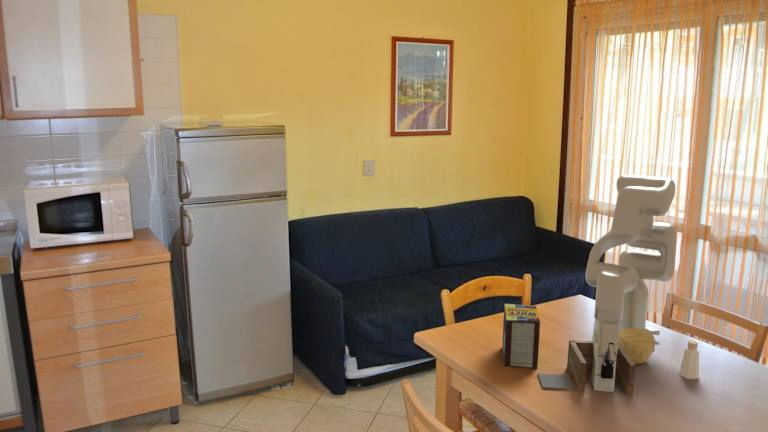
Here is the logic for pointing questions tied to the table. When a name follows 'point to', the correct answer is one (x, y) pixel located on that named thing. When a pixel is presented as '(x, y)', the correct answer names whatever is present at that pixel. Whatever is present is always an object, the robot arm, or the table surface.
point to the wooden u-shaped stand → (583, 360)
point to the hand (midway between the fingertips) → (603, 372)
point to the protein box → (521, 336)
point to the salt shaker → (690, 361)
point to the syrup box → (597, 381)
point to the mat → (556, 381)
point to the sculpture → (637, 344)
